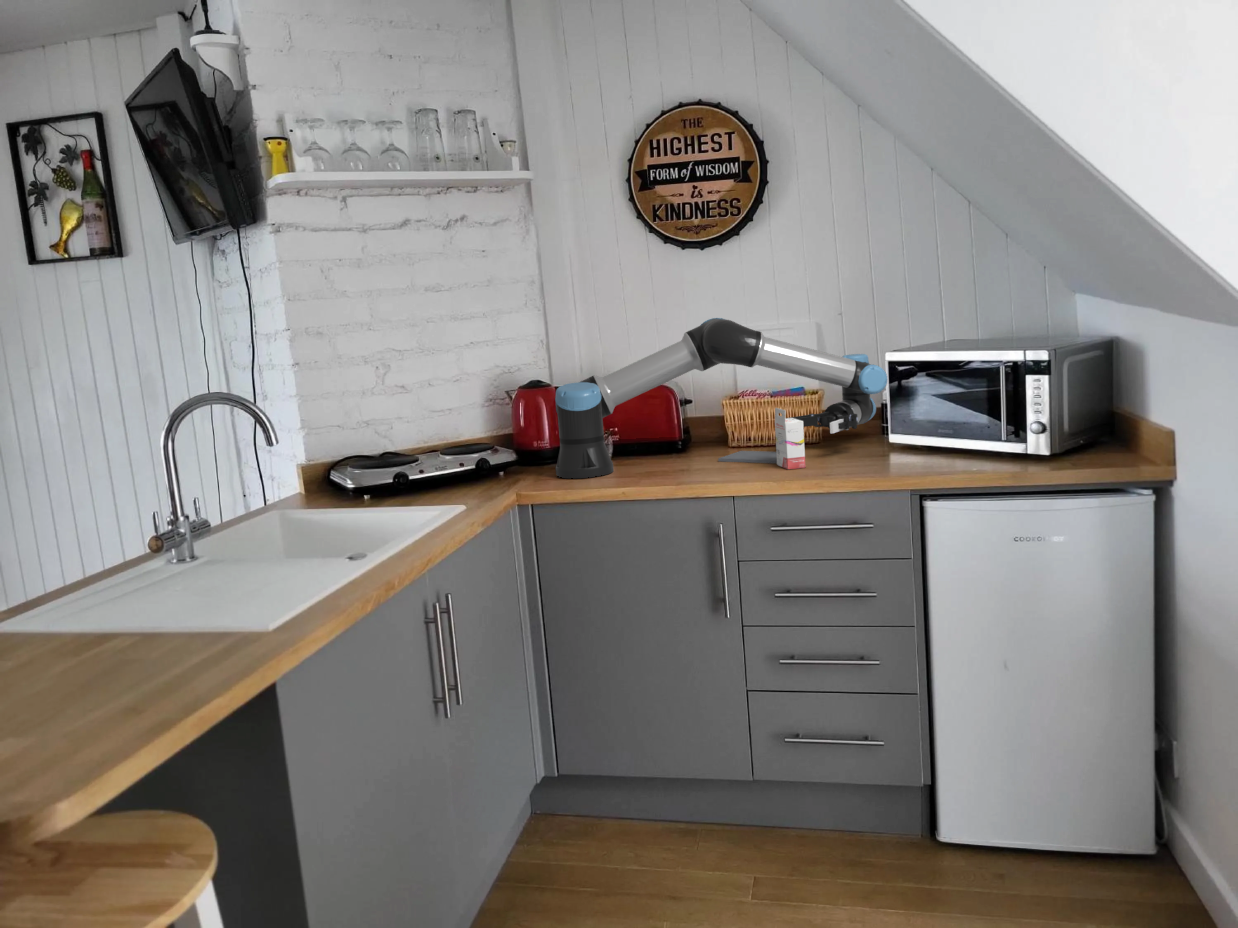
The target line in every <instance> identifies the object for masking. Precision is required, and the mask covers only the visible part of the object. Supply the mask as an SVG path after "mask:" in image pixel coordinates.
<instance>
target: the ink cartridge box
mask: <svg viewBox="0 0 1238 928" xmlns="http://www.w3.org/2000/svg"><path fill="white" fill-rule="evenodd" d="M779 414H780V415H779ZM786 414H787V411H786V409H783V408H778V407H775V408H774V431H775V450H776V451H775V452H776V454H777V463H776V465H777V466H779V467H781V468H783V469H786V470H795V469H806V450H805V437H804V436H805V434H804V432H805V431H804V428H805V427H803V421H801V420H797V419H794V418H790V417H786Z"/></svg>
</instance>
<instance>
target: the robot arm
mask: <svg viewBox="0 0 1238 928" xmlns="http://www.w3.org/2000/svg"><path fill="white" fill-rule="evenodd" d="M719 364H722V365H723V364H725V365H737V366H744V367H746V368H747V367H748V368H754V367H755V366H759V367H764V368H768V369H771V370H775V371H778V372H779V371H780V372H784V373H787V374H792V375H795V376H799V377H804V378H807V379H810V380H811V379H812V380H815V381H819V382H823V383H826V384H831V385H834V386H838V387H841V394H842V401H838V402H836V403H833V404H830V405H829V406H827V407H826V409H825V411H823V412H821V413H814V412H813V413H809V414H804V415H803V414H802V415H797V416H791V417H789V418H794V419H797V420H801V421H803V427H804V428H805V427H814V428H820V427H821V428H823V427H824V428H828V429H829V433H830V434H835V433H838V432H842V431H849V430H850V428H851V429H853V430H856V429H858V426H859V425H862V424H865V423H867V422H868V421H870V420H872V418H873V417H874V416H875V415H876V412H877V405H876V403H875V400H874V399H873V398H872V397H871V395H875V394H878V393H881V392H883V390H885V388H886V387H887V384H888V375H887V373H886V371H885V370H884V368H883V367H881V366H879V365H877V364H872V363H871V364H870V361H869V356H868V354H865V353H854V354H853V353H851V354H845V355H842V356H840V355H835V354H832V353H828V352H823V351H820V350H816V349H812V348H808V347H805V346H801V345H797V344H793V343H790V342H786V341H781V340H778V339H774V338H770V337H766V336H764V334H763V333H762V331H758V330H756V329H755V330H754V329H753V328H752V329H751V328H749V327H746V326H745V325H742V324H739V323H737V322H735V321H733V320H730V319H726V318H722V317H714V318H713V317H712V318H708V319H707V320H705V321H703V322H702V323H700V325H699V326H696V327H694V328H692V329H690V330H688V331H686V332H684V333H683V336H682V339H681V340H680V341H677V342H676V343H675V342H674V344H671V345H669V346H667V347H665V348H663V349H660V350H658V351H656V352H654V353H652V354H649V355H647V356H645V357H643V358H641V359H639V360H637V361H635V362H633V363H631V364H628V365H626V366H624V367H621V368H620V369H617V370H616V371H613V372H611V373H608V374H606V375H605V376H603V377H602V376H598V375H592V376H589V377H587V378H584V379H582V380H581V381H578V382H569V383H565V384H563V385H560V386H559V387H558V388H556V391H555V398H554V399H555V410H556V411H555V412H556V413H557V415H556V416H557V424H558V437H559V451H558V455H557V456H558V457H557V462H556V465H555V476H556V475H557V476H559V477H558V478H560V477H562V478H561V479H571V478H573V479H587V478H588V477H589V478H594V477H595V476H597V477H601V475H602V476H606V475H609V474H612V473H614V462H613V461H612V459H611V456H610V453H609V450H608V448H607V446H606V445H607V444H606V443H605V433H604V421H603V420H604V418H605V417H608V416H610V415H612V414H614V413H613V412H614V411H615V410H614V409H615V407H617V406H619V405H621V404H623V403H625V402H628V401H629V400H632V399H633V398H635V397H638V396H639V395H642V394H644V393H646V392H648V391H651V390H653V389H655V388H658V387H659V386H661V385H663V384H666V383H668V382H670V381H672V380H674V379H676V378H679V377H680V376H683V375H685V374H687V373H689V372H691V371H694V370H697V371H700V372H704V371H706V370H709V369H710V368H713V367H715V366H717V365H719ZM557 476H556V477H557Z"/></svg>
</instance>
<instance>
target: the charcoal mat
mask: <svg viewBox="0 0 1238 928" xmlns="http://www.w3.org/2000/svg"><path fill="white" fill-rule="evenodd" d="M718 462H724V463H726V462H727V463H752V464H777V454H776V451H768V450H767V451H766V450H765V451H763V450H762V451H761V450H757V451H756V450H739V451H737V452H734V453H730V454H728V455H727V454H726V455H725V456H721V457H718Z"/></svg>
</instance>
